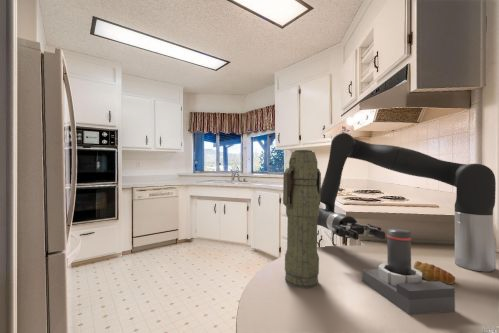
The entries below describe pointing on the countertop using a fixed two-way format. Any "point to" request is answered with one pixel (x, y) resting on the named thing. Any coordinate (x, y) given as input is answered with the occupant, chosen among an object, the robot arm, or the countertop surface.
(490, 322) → the countertop surface
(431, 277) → the pastry
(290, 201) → the thermos
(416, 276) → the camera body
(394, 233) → the lens
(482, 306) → the countertop surface
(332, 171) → the robot arm
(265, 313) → the countertop surface
